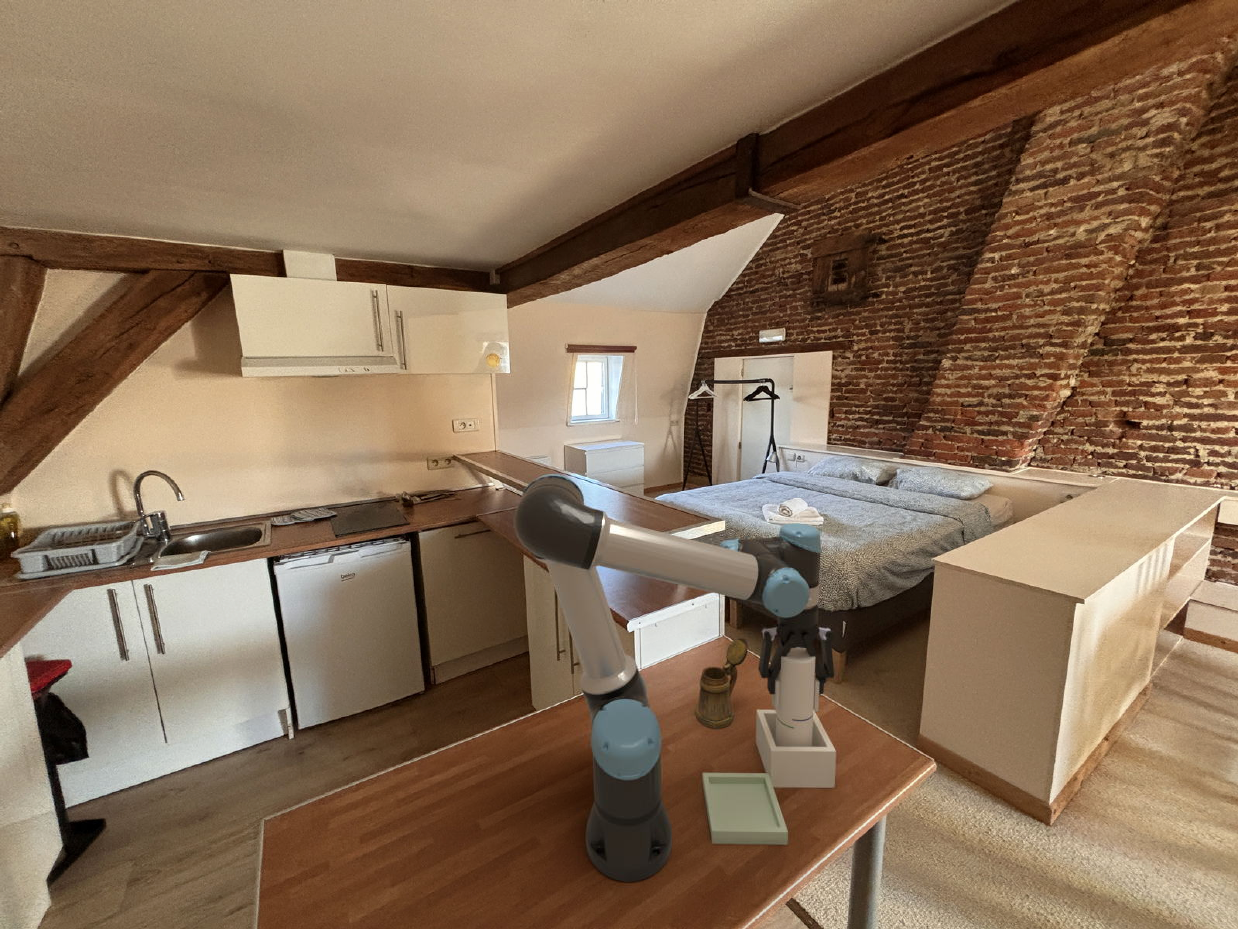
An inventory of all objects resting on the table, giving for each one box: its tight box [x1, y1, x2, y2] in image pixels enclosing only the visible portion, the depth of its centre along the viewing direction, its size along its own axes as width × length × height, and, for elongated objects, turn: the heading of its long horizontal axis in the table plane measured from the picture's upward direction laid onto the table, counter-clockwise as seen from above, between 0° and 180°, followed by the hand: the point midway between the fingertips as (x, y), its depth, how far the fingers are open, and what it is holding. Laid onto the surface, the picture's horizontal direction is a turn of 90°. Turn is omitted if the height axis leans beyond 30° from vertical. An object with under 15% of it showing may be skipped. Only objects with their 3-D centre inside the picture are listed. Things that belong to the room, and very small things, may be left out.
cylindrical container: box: [775, 647, 816, 747], centre depth 101 cm, size 7×7×25 cm
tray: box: [702, 772, 789, 846], centre depth 92 cm, size 13×13×2 cm
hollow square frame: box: [755, 709, 837, 789], centre depth 102 cm, size 12×12×8 cm
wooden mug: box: [695, 637, 748, 730], centre depth 118 cm, size 9×14×18 cm, turn 114°
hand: (794, 707), depth 101 cm, fingers closed on cylindrical container, 7 cm apart
